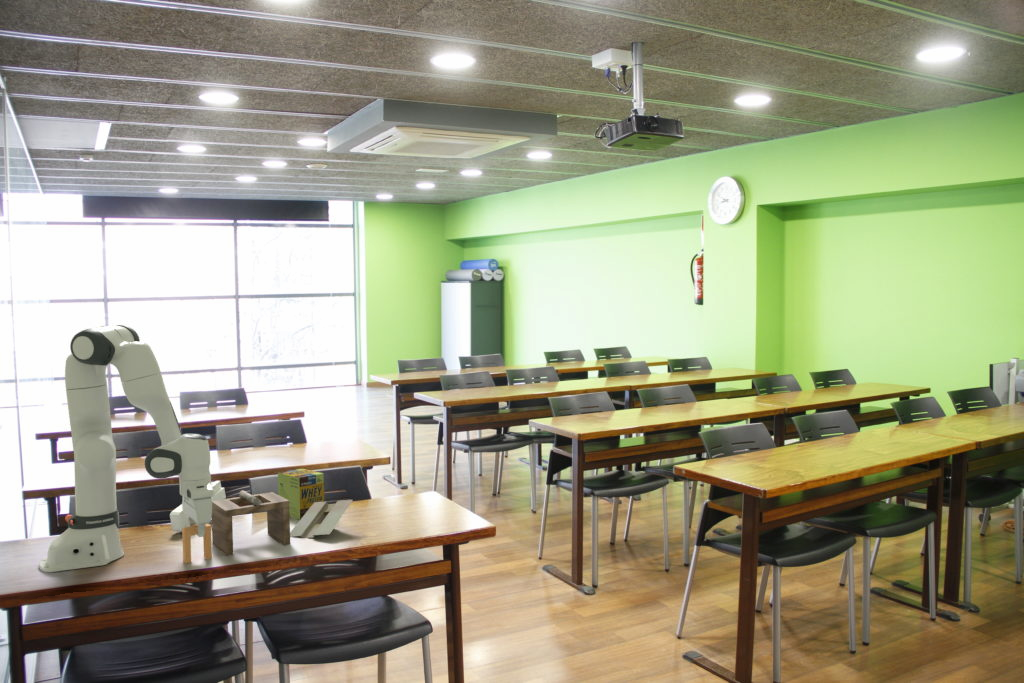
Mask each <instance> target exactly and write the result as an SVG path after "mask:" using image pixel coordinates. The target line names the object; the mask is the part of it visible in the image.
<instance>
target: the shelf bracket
mask: <svg viewBox="0 0 1024 683" xmlns="http://www.w3.org/2000/svg"><path fill="white" fill-rule="evenodd" d="M221 483H222V482H221V480H215V481H213V483H212V482H211V486H212V488H213V490H214V496H213V497H211V498H212V501H215V500H222V499H227V496H226V491H225V490H226V489H225V487H222V484H221ZM169 518H170V525H171V530H172V531H173V532H182V528H185V527H189V522H188V516H187V515H186V514H185V513H184V512H183V509H182V503H181V504H180V505H179V506H177V507H176V508H174V509H173V510H172V511H171V512H170V514H169ZM196 526H197V523H196Z"/></svg>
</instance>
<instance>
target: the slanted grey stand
mask: <svg viewBox="0 0 1024 683" xmlns="http://www.w3.org/2000/svg"><path fill="white" fill-rule="evenodd" d="M352 502H353V499H345V500H344V499H342V500H341V499H340V500H337V501H336V503H334V504H333V503H328V501H327V500H326V501H324V502H314V504H313V505H312V506H311V507H310V508H309V510H308V511H307V512H306V513H305V515H304V516H303V517H302V519H301V520H298V522H297V524H295V526H294V527H293V528H292V529H291V530H290V538H291V537H301V538H305V539H309V538H315V537H316V536H322V535H323V536H324V535H331V533H332V532H333V530H334V529H335V527H336V526H337V524H338V523H339V521H340V519H341V518H342V516H343V515H344V514H345V513H346V511H347V509H348V508H349V507H350V505H351V504H352Z"/></svg>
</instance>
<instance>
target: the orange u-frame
mask: <svg viewBox="0 0 1024 683" xmlns="http://www.w3.org/2000/svg"><path fill="white" fill-rule="evenodd" d="M197 530H198V526H191V527H185V528H182V534H181V535H182V537H181V538H182V561H183V563H185V564H189V563H192V544H191V541H192V540H191V537H192V536H196V535H197ZM212 545H213V544H212V524H210V523H207V524H206V527H205V535H204V536H203V557H204V558H205V559H206V560H210V559H212V558H213V547H212Z"/></svg>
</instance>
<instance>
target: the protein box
mask: <svg viewBox="0 0 1024 683" xmlns="http://www.w3.org/2000/svg"><path fill="white" fill-rule="evenodd" d="M324 478H325V477H324V473H323V472H319V471H314V470H309V469H305V468H299V469H292V470H291V469H290V470H285V471H280V472H279V471H278V472H277V492H278V494H277V495H279V496H281V497H283V498H285V499H287V500H289V511H290V518H291V519H295V520H298V521H300V520H301V519H302V517H303V516H304V515H305V513H306V512H307V511H308V510H309V508H310V507H311V506H312V505H313V504H314V502H325V486H324V485H325V482H324V480H325V479H324Z"/></svg>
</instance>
